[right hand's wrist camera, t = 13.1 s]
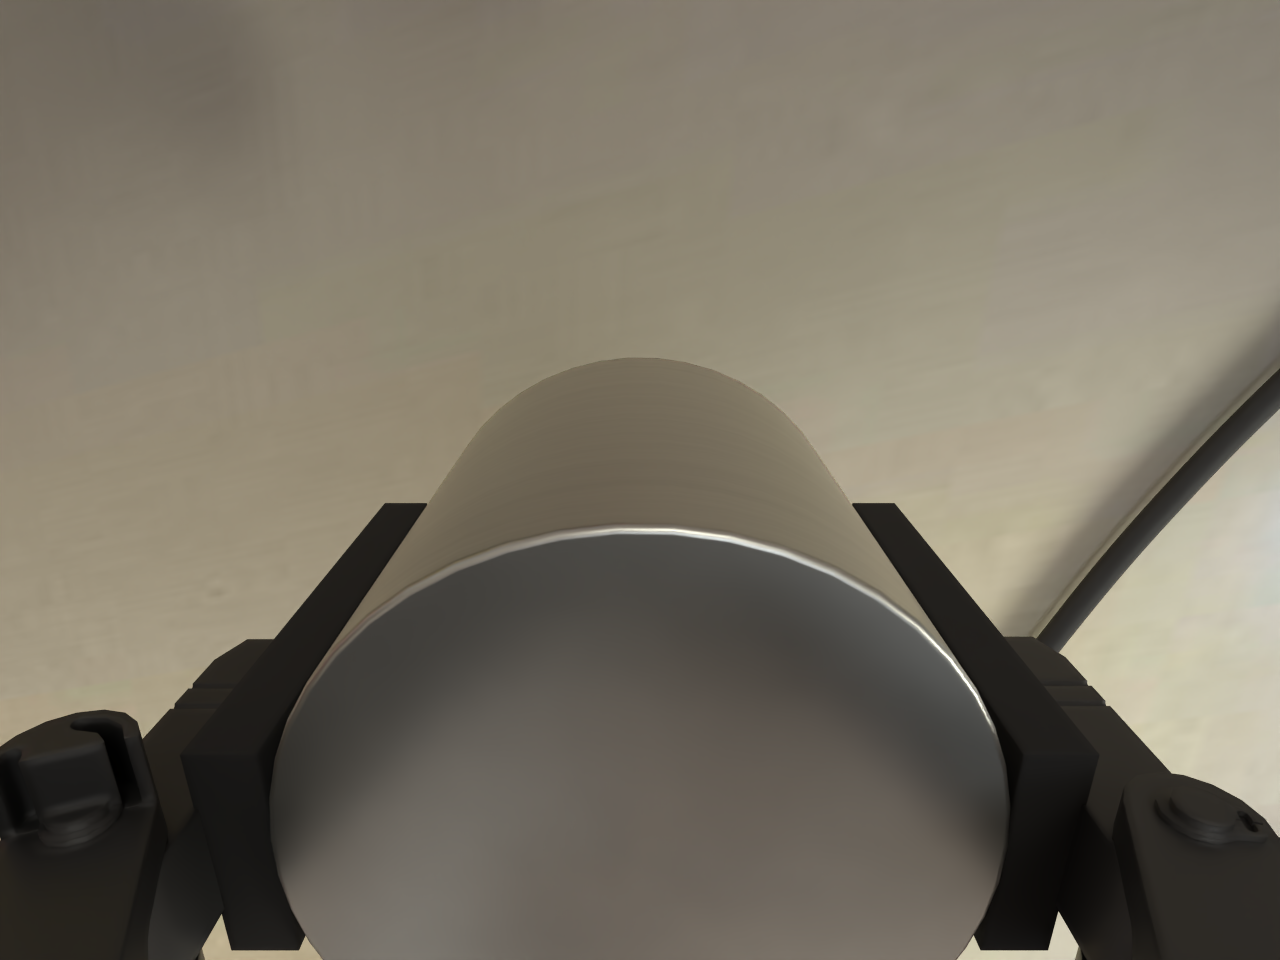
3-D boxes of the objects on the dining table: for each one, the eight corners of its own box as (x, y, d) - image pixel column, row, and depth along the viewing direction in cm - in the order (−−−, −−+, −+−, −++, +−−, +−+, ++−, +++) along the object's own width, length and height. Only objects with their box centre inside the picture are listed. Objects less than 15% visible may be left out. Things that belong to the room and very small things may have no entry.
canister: (410, 368, 13) (178, 546, 7) (848, 345, 13) (1064, 504, 6) (468, 725, 16) (343, 1111, 9) (832, 710, 16) (972, 1090, 9)
